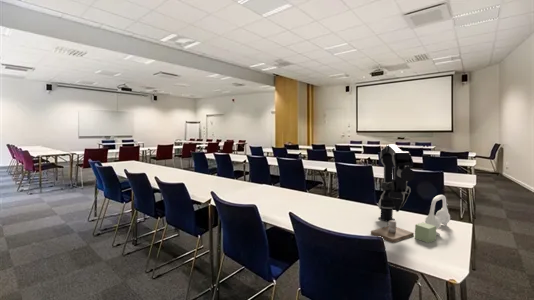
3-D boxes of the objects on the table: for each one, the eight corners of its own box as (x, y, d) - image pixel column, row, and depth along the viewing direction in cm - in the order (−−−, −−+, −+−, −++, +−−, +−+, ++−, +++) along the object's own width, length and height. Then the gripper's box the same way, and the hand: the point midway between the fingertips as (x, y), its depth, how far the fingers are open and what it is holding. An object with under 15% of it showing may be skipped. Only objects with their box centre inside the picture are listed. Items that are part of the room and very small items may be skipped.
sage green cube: (422, 235, 129) (422, 222, 129) (435, 240, 124) (436, 226, 123) (414, 238, 126) (415, 224, 125) (428, 242, 121) (428, 228, 120)
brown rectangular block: (391, 228, 139) (391, 215, 139) (413, 235, 129) (414, 222, 128) (370, 233, 131) (371, 220, 131) (392, 242, 121) (393, 228, 120)
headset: (437, 223, 147) (438, 191, 146) (452, 226, 141) (453, 193, 140) (423, 231, 134) (424, 197, 133) (439, 236, 129) (440, 200, 127)
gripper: (387, 173, 140) (386, 202, 141) (377, 178, 125) (376, 210, 126) (411, 175, 133) (410, 206, 134) (403, 181, 118) (402, 215, 119)
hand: (399, 209), depth 128 cm, fingers open, 9 cm apart
